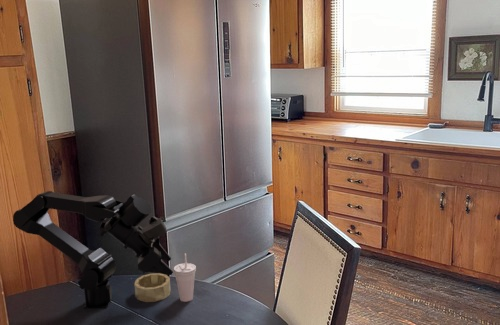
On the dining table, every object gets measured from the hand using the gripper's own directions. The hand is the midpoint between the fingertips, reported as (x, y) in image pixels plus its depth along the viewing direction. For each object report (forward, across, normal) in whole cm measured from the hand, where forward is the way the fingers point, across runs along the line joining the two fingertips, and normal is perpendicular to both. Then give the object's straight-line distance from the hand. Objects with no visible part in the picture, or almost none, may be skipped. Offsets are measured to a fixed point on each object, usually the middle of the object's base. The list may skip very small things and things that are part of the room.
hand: (171, 266), depth 133 cm
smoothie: (+10, 0, +5) cm, 11 cm away
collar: (+4, +6, +11) cm, 13 cm away
